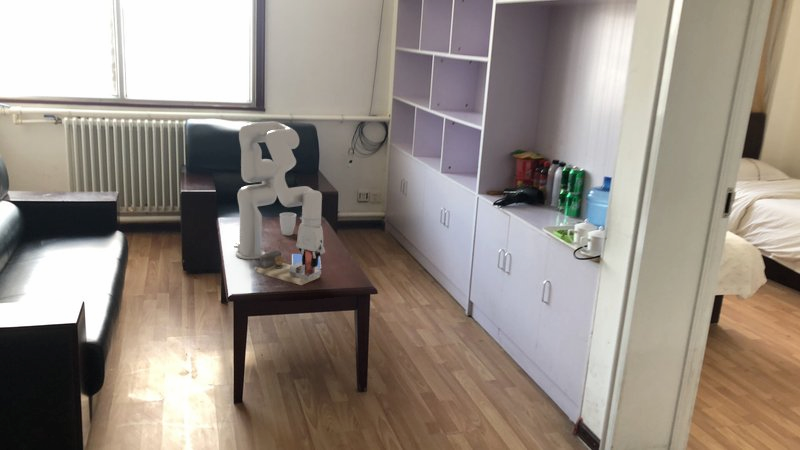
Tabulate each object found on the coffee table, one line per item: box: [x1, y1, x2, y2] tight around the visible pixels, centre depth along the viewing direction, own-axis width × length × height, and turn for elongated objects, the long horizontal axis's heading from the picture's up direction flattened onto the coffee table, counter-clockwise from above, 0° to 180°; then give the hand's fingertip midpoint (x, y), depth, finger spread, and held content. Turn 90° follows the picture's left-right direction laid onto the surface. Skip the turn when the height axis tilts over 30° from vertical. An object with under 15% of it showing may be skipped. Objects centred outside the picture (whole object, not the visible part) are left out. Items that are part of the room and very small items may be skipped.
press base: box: [256, 250, 321, 286], centre depth 280 cm, size 23×12×7 cm, turn 60°
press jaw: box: [290, 250, 322, 280], centre depth 274 cm, size 9×9×12 cm
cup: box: [279, 212, 297, 236], centre depth 336 cm, size 8×8×10 cm
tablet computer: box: [291, 253, 322, 270], centre depth 298 cm, size 19×13×1 cm, turn 9°
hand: (309, 264), depth 274 cm, fingers closed on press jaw, 4 cm apart
